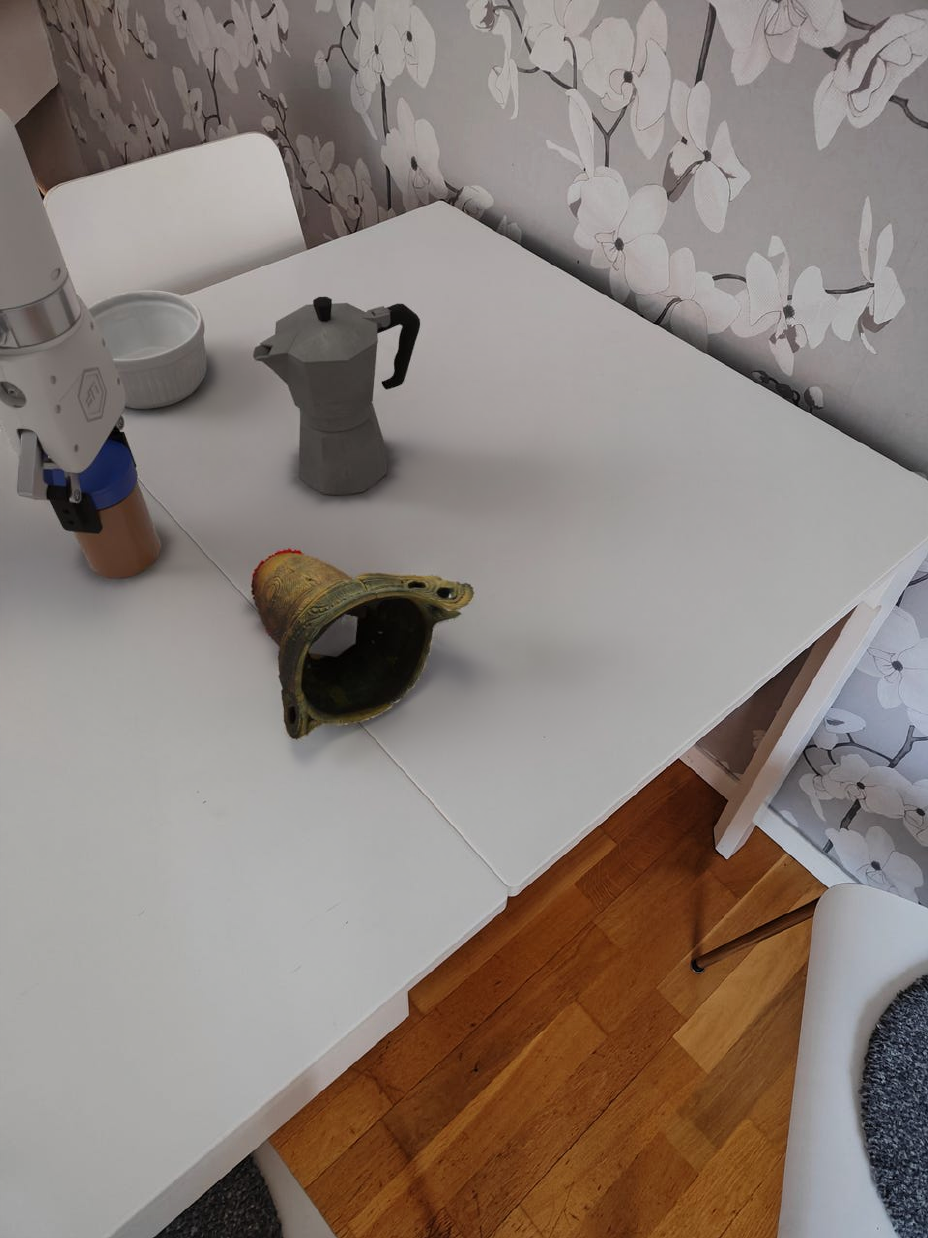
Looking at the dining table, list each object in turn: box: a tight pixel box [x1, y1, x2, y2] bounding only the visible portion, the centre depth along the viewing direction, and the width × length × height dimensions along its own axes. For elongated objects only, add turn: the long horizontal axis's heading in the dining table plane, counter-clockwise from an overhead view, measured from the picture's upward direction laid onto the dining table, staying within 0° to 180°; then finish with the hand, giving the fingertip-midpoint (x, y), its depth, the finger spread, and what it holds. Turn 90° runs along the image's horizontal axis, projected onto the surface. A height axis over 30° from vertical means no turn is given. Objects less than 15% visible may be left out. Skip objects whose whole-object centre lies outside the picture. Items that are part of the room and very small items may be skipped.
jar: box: [73, 480, 162, 579], centre depth 75 cm, size 6×6×10 cm
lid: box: [52, 439, 139, 510], centre depth 71 cm, size 7×7×2 cm
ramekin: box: [87, 289, 207, 410], centre depth 92 cm, size 13×13×7 cm
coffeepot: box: [252, 296, 421, 496], centre depth 79 cm, size 15×9×18 cm, turn 118°
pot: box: [250, 547, 475, 741], centre depth 68 cm, size 17×11×18 cm
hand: (101, 497), depth 73 cm, fingers closed on lid, 6 cm apart
